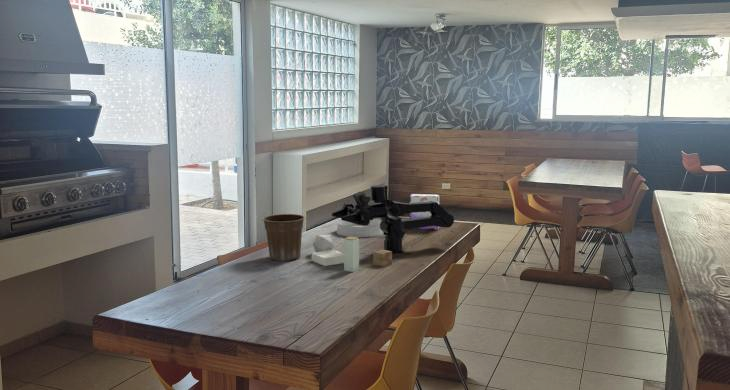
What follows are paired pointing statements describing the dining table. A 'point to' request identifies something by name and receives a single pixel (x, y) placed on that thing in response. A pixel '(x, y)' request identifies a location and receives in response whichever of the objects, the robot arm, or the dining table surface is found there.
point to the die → (323, 243)
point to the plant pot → (284, 236)
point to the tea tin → (351, 254)
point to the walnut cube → (382, 257)
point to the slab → (328, 257)
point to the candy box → (423, 198)
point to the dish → (359, 229)
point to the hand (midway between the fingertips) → (336, 216)
